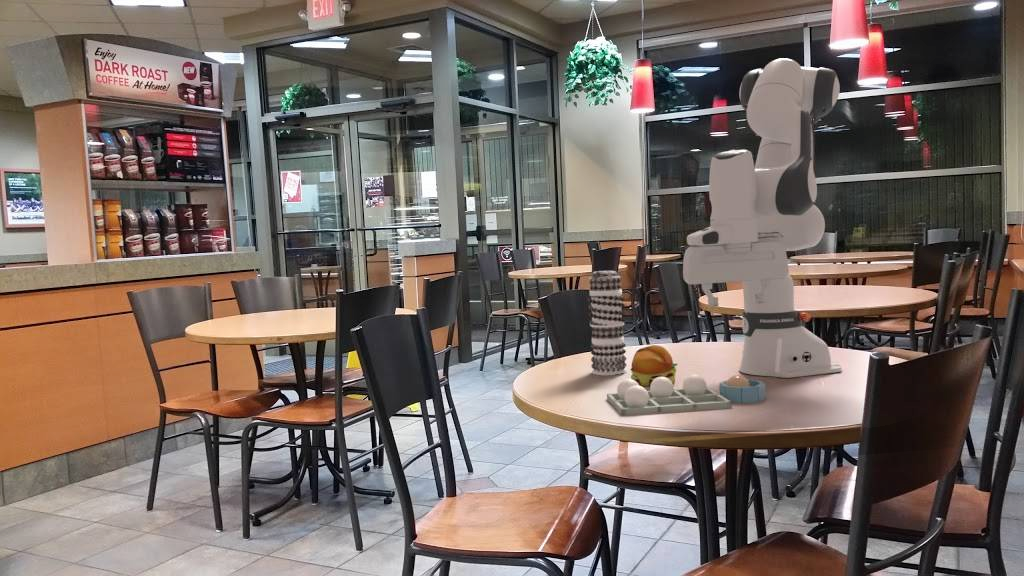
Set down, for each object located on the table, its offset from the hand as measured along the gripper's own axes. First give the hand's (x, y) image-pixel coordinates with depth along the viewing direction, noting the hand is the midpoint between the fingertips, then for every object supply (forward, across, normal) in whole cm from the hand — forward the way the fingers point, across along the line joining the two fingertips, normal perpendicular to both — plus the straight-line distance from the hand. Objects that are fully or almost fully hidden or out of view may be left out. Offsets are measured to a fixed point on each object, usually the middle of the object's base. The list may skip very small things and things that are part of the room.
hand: (736, 304), depth 149 cm
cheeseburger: (+19, +12, -20) cm, 30 cm away
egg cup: (+19, 0, +1) cm, 19 cm away
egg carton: (+19, +15, +1) cm, 24 cm away
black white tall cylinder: (+19, +18, -39) cm, 47 cm away
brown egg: (+18, 0, +1) cm, 18 cm away
